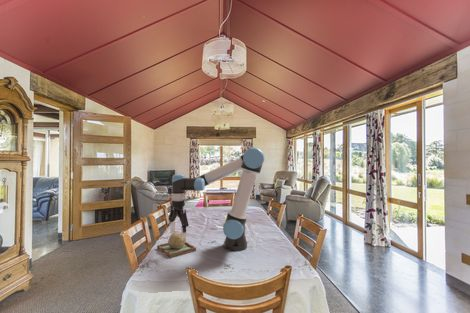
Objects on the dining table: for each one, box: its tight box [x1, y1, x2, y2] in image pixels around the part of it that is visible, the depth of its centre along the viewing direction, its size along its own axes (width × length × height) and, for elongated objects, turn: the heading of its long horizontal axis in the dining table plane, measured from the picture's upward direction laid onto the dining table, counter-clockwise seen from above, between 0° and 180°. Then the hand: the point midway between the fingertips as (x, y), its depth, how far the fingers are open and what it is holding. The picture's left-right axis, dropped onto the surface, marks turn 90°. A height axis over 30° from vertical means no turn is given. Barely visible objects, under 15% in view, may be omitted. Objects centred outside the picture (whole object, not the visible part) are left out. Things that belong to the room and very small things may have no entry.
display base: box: [156, 241, 197, 259], centre depth 145 cm, size 17×17×2 cm
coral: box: [167, 231, 187, 249], centre depth 145 cm, size 10×10×10 cm
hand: (177, 235), depth 145 cm, fingers open, 13 cm apart
